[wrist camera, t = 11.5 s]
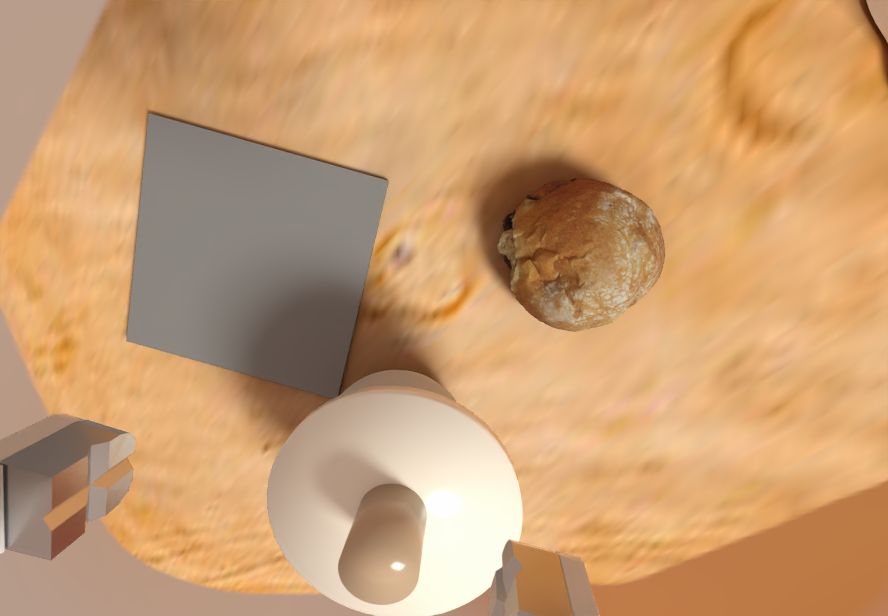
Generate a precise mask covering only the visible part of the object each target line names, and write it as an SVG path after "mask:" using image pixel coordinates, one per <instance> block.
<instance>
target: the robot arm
mask: <svg viewBox="0 0 888 616" xmlns="http://www.w3.org/2000/svg"><path fill="white" fill-rule="evenodd" d="M866 1H867V4H868V7H869V10H870V12H871V15H872V17H873V19H874V21H875V23H876V24H877V26H878V28H879V29H880V31H881V33H882V34H883V36H884V37H885V39H886V41H887V43H888V0H866ZM134 451H135V437H134V436H133V435H131V434H130V433H128V432H125V431H121V430H118V429H115V428H112V427H108V426H105V425H102V424H99V423H95V422H92V421H89V420H83V419H81V418H77V417H74V416H71V415H68V414H54V415H52V416H49V417H47V418H45V419H43V420H41V421H39V422H37V423H35V424H33V425H31V426H29V427H26V428H25V429H22V430H20V431H18V432H16V433H14V434H12V435H10V436H8V437H6V438H4V439H2V440H0V554H1V553H3V552H5V549H7V550H11V551H15V552H19V553H23V554H27V555H31V556H35V557H39V558H43V559H47V560H52V559H53V558H55V557H56V556H57V555H58V554H59V553H61V552H62V551H63V550H64V549H66V548H67V547H68V546H69V545H71V544H72V543H73V542H74V541H75V540H77V539H78V538H79V537H80V536H82V535H83V534H84V533H85V531H86V527H87V523H88V522H89V521H92V520H95V519H97V518H100V517H103V516H106V515H107V514H108V513H109V512H111V511H112V510H113V509H114V508H115V507H116V506H118V505H119V503H120V502H121V500H122V499H123V498H124V496H125V495H126V493H127V492H128V491H129V488H130V485H131V482H132V480H133V470H134V469H133V467H132V465H131V464H130V462H129V460H128V457H129V456H130V455H131V454H132V453H133V452H134ZM488 616H600V615H599V612H598V609H597V605H596V602H595V599H594V596H593V592H592V589H591V586H590V582H589V579H588V576H587V572H586V569H585V566H584V562H583V561H582V560H581V558H580V557H576V556H572V555H568V554H564V553H560V552H554V551H551V550H547V549H543V548H540V547H536V546H532V545H529V544H525V543H521V542H518V541H514V540H510V539H509V540H508V541H507V543H506V544H505V547H504V549H503V552H502V567H501V568H500V569H498V570H497V571H496V572H495V575H494V578H493V581H492V584H491V589H490V595H489V601H488Z"/></svg>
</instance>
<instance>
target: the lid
mask: <svg viewBox="0 0 888 616" xmlns="http://www.w3.org/2000/svg"><path fill="white" fill-rule="evenodd" d="M267 509H268V515H269V520H270V524H271V528H272V531H273V534H274V537H275V539H276V541H277V543H278V545H279V547H280V549H281V551H282V552H283V554H284V555H285V557H286V559H287V560H288V562H289V563H290V564H291V565H292V567H293V568H294V569H295V570H296V571H297V573H298V574H299V575H300V576H301V577H302V578H304V579H305V580H306V581H307V582H308V583H309V584H310V585H311V586H313V587H314V588H315V589H317V590H318V591H319V592H321V593H322V594H324V595H325V596H327V597H329V598H330V599H332V600H334V601H335V602H338V603H340V604H342V605H344V606H346V607H349V608H351V609H354V610H357V611H360V612H363V613H367V614H371V615H376V616H432V615H436V614H441V613H444V612H447V611H450V610H453V609H456V608H458V607H460V606H462V605H464V604H466V603H468V602H470V601H472V600H473V599H475V598H476V597H478V596H479V595H481V594H482V593H483V592H484V591H486V590H487V589H488V588H489V587H490V586H491V584H492V581H493V578H494V575H495V572H496V571H497V570H498V569H500V568H501V567H502V552H503V549H504V547H505V544H506V543H507V541H508V540H509V539H510V540H514V541H518V542H519V538H520V535H521V528H522V521H523V513H522V500H521V495H520V489H519V484H518V478H517V474H516V471H515V468H514V465H513V462H512V460H511V458H510V456H509V454H508V452H507V450H506V448H505V447H504V445H503V444H502V443H501V441H500V440H499V438H498V437H497V435H496V434H495V433H494V432H493V431H492V430H491V429H490V428H489V427H488V425H487V424H486V423H485V422H483V421H482V420H481V419H480V418H479V417H478V416H476V415H475V414H474V413H473V412H471V411H470V410H468V409H467V408H465V407H464V406H462V405H460V404H459V403H457V402H455V401H453V400H451V399H449V398H447V397H445V396H442V395H439V394H436V393H433V392H430V391H427V390H423V389H418V388H413V387H407V386H395V385H389V386H373V387H367V388H361V389H357V390H354V391H350V392H347V393H344V394H342V395H339V396H337V397H335V398H333V399H331V400H329V401H327V402H326V403H324V404H322V405H321V406H319V407H318V408H316V409H315V410H314V411H313V412H311V413H310V414H309V415H308V416H307V417H306V418H305V419H304V420H303V421H302V422H301V423H300V424H299V425H298V426H297V428H296V429H295V430H294V431H293V432H292V434H291V435H290V436H289V437H288V439H287V440H286V441H285V443H284V445H283V446H282V448H281V449H280V451H279V452H278V454H277V457H276V459H275V461H274V463H273V466H272V469H271V473H270V477H269V481H268V489H267Z"/></svg>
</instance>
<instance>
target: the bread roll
mask: <svg viewBox="0 0 888 616" xmlns="http://www.w3.org/2000/svg"><path fill="white" fill-rule="evenodd" d="M503 222H504V224H503V228H504V231H505V232H503V233H502V234H501V235H500V239H499V242H498V244H497V247H498V252H499V254H503V257H504V261H505V262H506V263H507V265H508V266H509V267H510V269H511V273H510V276H509V278H510V286H511V287H510V290H511V291H512V292H513V293H514V294H515V295H516V299H517V300H518V301H519V302H520V304H521V305H522V306H524V308H525V309H526V310H527V311H528V312H529V313H530V314H531V315H532V316H534V317H535V318H536V319H538V320H539V321H541V322H544V323H545V324H547V325H549V326H551V327H554V328H557V329H562V330H567V331H574V332H576V331H581V330H584V329H589V328H595V327H600V326H603V325H605V324H609V323H613V322H614V321H615V320H616V319H617V318H618V317H619V316H620V315H621V314H623V313H624V311H625V309H627V308H629V307H631V306H632V305H634V304H635V303H636V302H637V301H638V300H639V299H641V298H642V297H643V296H644V295H645V294H646V293H647V292H648V291H649V290H650V289H651V288H652V287H653V285H654V284H655V283H656V282H657V280H658V278H659V277H660V274H661V271H662V268H663V264H664V257H665V248H664V240H663V236H662V232H661V226H660V224H659V223H658V221H657V219H656V217H655V215H654V213H653V211H652V210H651V208H650V207H649V206H648V205H647V204H646V203H645V202H643V201H642V200H640V199H639V198H637V197H636V196H634V195H632V194H631V193H629V192H627V191H625V190H622V189H620V188H618V187H616V186H614V185H612V184H609V183H606V182H600V181H596V180H591V179H576V178H575V179H572V180H568V181H566V180H561V181H553V182H551V183H548V184H545V185H544V186H543V187H542V188H541V189H539V190H538V191H536V192H535V193H534V194H532V195H531V196H530V195H528V196H527V197H526V198H525V200H524V202H523V203H521V204H520V205H519V206H518V207H517V210H516V211H514V212H513V213H511V214H508V215H507V217H506V218H505V219H504V221H503ZM521 256H522V257H523V258H522V257H521Z"/></svg>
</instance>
